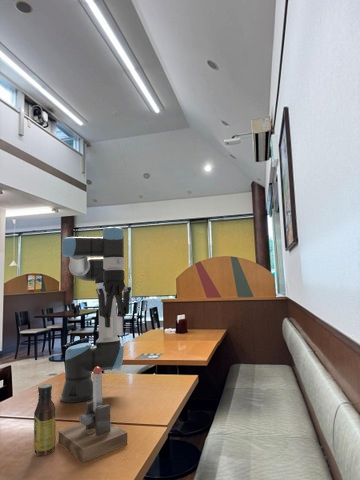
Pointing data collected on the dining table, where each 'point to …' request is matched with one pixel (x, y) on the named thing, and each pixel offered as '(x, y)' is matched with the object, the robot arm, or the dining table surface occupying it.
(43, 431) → the sauce bottle
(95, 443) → the base
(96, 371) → the lever
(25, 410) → the dining table surface
